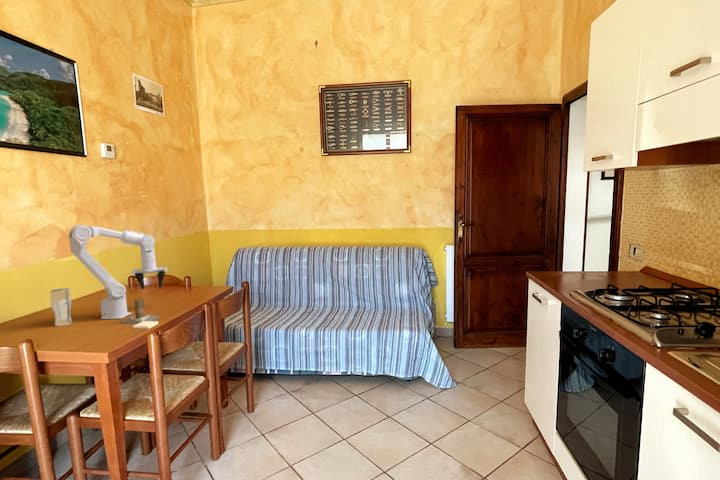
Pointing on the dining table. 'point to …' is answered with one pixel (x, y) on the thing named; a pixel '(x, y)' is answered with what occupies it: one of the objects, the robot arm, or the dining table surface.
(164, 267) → the robot arm
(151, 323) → the tile
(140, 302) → the grey upright block
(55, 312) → the beer glass
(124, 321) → the rest mat
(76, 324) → the dining table surface
